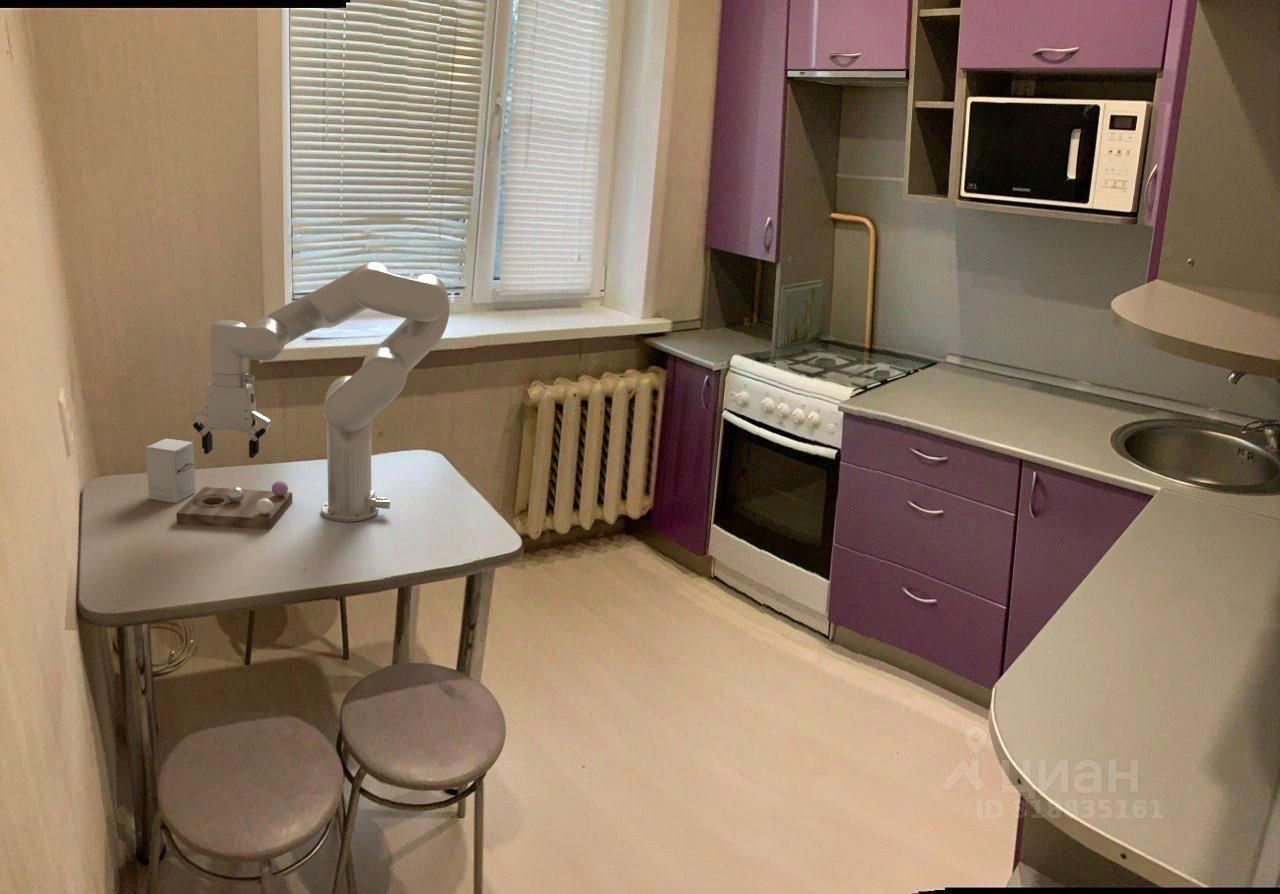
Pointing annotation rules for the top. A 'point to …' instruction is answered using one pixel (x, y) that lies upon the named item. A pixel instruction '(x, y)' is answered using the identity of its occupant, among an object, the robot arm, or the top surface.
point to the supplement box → (170, 470)
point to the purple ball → (279, 488)
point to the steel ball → (235, 495)
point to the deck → (232, 509)
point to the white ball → (264, 506)
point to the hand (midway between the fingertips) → (230, 454)
